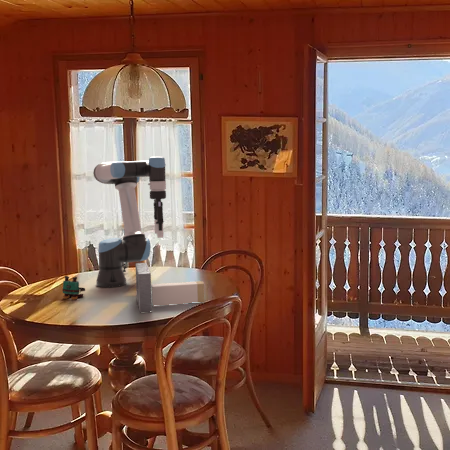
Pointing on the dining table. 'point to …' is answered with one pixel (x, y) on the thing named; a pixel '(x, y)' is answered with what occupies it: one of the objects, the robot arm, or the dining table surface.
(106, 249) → the robot arm
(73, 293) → the binoculars
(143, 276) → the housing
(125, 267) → the valve
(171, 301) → the grey rectangular block
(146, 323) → the dining table surface
